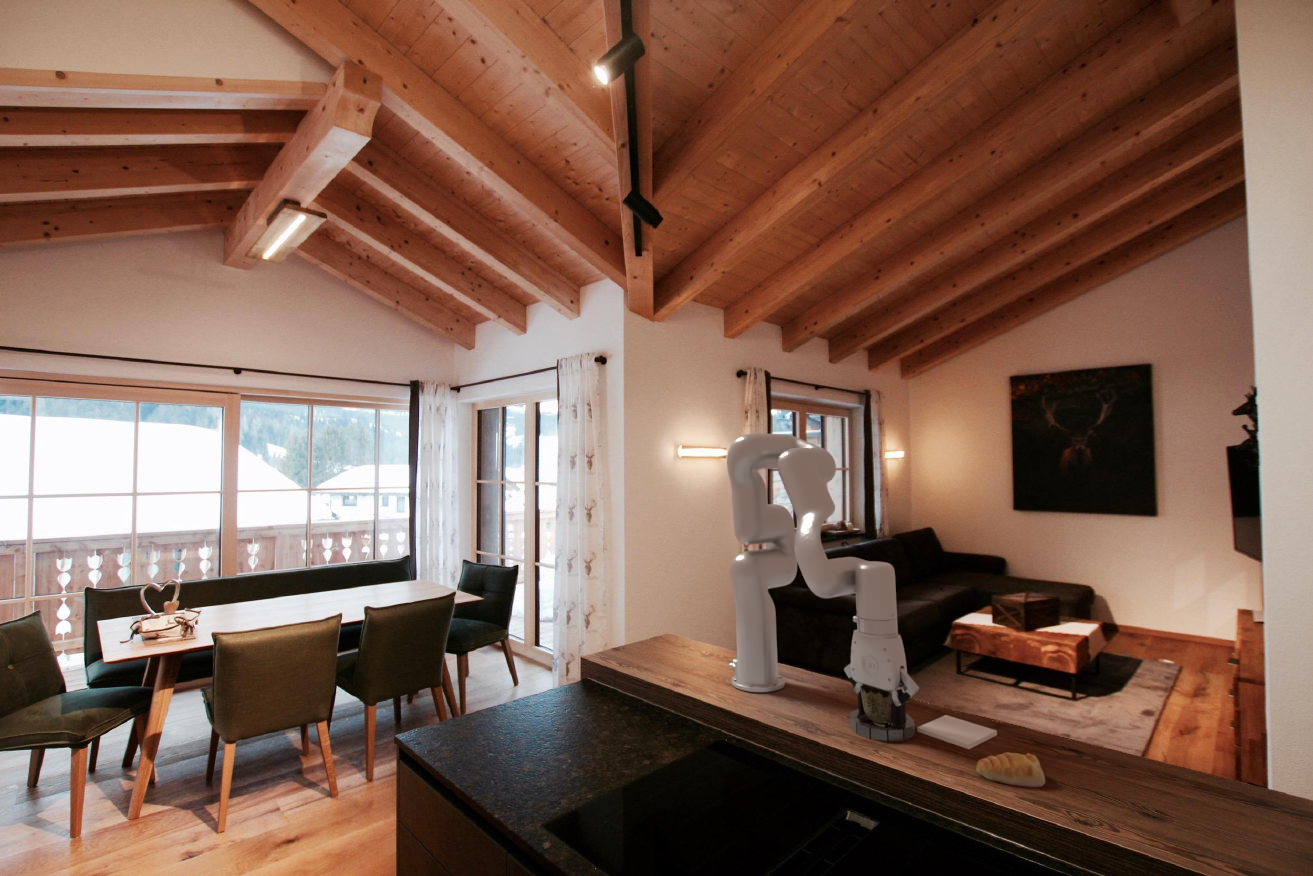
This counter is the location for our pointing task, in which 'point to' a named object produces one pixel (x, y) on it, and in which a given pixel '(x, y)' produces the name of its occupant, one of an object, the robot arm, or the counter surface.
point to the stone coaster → (957, 731)
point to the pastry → (1012, 769)
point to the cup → (877, 705)
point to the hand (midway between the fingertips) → (881, 718)
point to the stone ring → (881, 729)
